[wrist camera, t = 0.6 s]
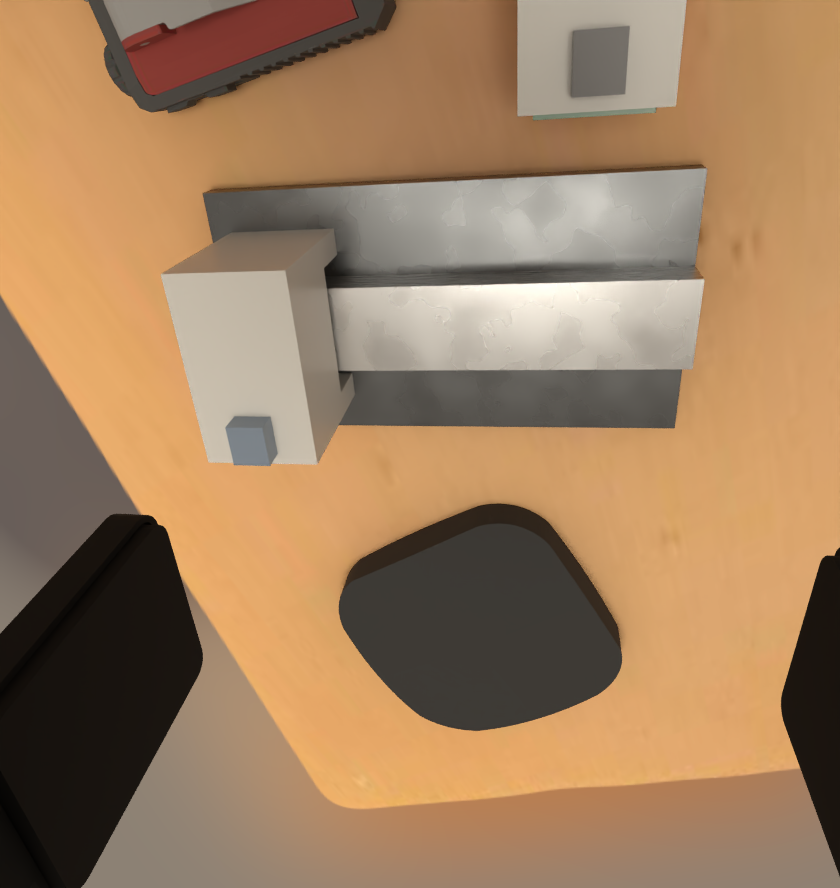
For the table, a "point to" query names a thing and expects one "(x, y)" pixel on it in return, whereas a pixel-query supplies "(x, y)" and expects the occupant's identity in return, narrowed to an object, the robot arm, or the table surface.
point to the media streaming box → (482, 620)
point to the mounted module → (260, 345)
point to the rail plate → (494, 243)
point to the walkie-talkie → (220, 42)
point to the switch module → (598, 56)
